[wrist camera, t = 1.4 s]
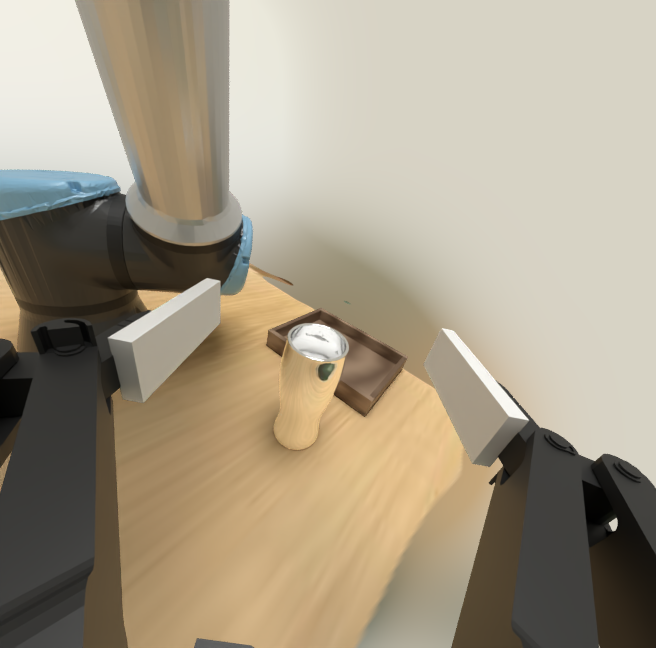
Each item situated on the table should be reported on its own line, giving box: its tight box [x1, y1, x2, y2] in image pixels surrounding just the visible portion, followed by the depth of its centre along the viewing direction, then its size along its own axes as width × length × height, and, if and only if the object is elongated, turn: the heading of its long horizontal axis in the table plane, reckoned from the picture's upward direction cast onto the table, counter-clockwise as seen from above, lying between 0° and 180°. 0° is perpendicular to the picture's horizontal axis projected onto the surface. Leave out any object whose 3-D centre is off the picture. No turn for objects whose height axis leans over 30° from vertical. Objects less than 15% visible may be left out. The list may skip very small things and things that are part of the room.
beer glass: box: [273, 323, 349, 450], centre depth 29 cm, size 7×7×15 cm
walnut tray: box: [267, 308, 408, 417], centre depth 47 cm, size 22×16×4 cm
